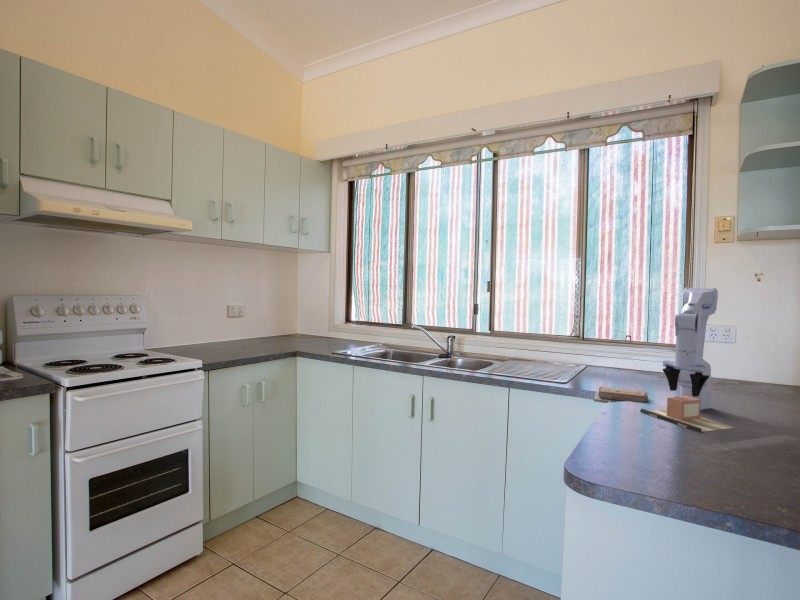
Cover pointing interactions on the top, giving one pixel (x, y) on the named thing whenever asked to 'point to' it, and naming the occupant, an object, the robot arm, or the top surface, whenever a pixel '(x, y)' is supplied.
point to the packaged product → (619, 395)
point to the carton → (683, 407)
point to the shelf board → (688, 421)
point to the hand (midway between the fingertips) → (684, 393)
